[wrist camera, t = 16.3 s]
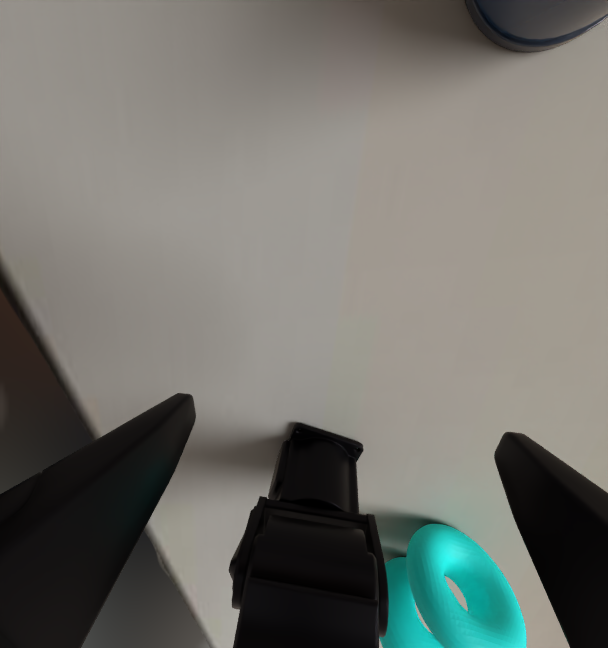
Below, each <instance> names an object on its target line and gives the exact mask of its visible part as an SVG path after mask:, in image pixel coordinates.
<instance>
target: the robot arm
mask: <svg viewBox="0 0 608 648" xmlns="http://www.w3.org/2000/svg"><path fill="white" fill-rule="evenodd" d="M195 419H196V413H195V407H194V400H193V397H192V395H190V394H183V393H178V394H175V395H174V396H172V397H170V398H168V399H167V400H165V401H163V402H161V403H160V404H158V405H156V406H154V407H153V408H151V409H149V410H147V411H146V412H144V413H142V414H140V415H139V416H137V417H135V418H133V419H132V420H130V421H128V422H126V423H125V424H123V425H121V426H120V427H118V428H116V429H114V430H113V431H111V432H109V433H107V434H106V435H104V436H102V437H100V438H99V439H97V440H95V441H93V442H92V443H90V444H88V445H86V446H85V447H83V448H81V449H79V450H78V451H76V452H74V453H72V454H71V455H69V456H67V457H65V458H64V459H62V460H60V461H58V462H57V463H55V464H53V465H51V466H50V467H48V468H46V469H44V470H43V471H42V473H37V474H36V475H34V476H32V477H30V478H29V479H27V480H25V481H23V482H22V483H20V484H18V485H16V486H14V487H13V488H11V489H9V490H7V491H5V492H4V493H2V494H0V648H81V647H82V645H83V643H84V641H85V639H86V637H87V635H88V633H89V632H90V630H91V628H92V626H93V624H94V622H95V620H96V619H97V617H98V615H99V613H100V611H101V609H102V607H103V605H104V603H105V601H106V600H107V598H108V596H109V594H110V592H111V590H112V588H113V586H114V584H115V582H116V581H117V579H118V577H119V575H120V573H121V571H122V570H123V568H124V566H125V564H126V562H127V560H128V558H129V556H130V554H131V553H132V551H133V549H134V547H135V545H136V543H137V541H138V540H139V538H140V536H141V534H142V532H143V530H144V528H145V526H146V524H147V523H148V521H149V519H150V517H151V515H152V513H153V511H154V509H155V508H156V506H157V504H158V502H159V500H160V498H161V496H162V494H163V493H164V491H165V489H166V487H167V485H168V483H169V481H170V479H171V477H172V475H173V473H174V471H175V469H176V467H177V464H178V462H179V460H180V457H181V455H182V452H183V450H184V447H185V445H186V443H187V440H188V438H189V435H190V433H191V430H192V428H193V425H194V423H195ZM299 429H301V430H299ZM362 452H363V445H362V444H361V443H359V442H356V441H353V440H350V439H347V438H344V437H341V436H338V435H335V434H332V433H329V432H326V431H323V430H320V429H316V428H313V427H310V426H307V425H304V424H301V423H298V424H296V425H295V426H294V429H293V431H292V434H291V436H290V438H289V441H288V440H285V441H284V442H283V445H282V447H281V450H280V452H279V455H278V457H277V461H276V465H275V469H274V473H273V478H272V482H271V486H270V490H269V494H268V498H269V499H267V497H262V496H260V498H259V501H258V503H257V506H255V507H254V509H253V510H251V513H250V516H249V520H248V523H247V527H246V530H245V533H244V535H243V537H242V539H241V541H240V544H239V546H238V548H237V550H236V552H235V554H234V556H233V558H232V560H231V563H230V567H229V573H230V575H231V578H232V580H233V587H232V589H233V595H232V608H235V609H240V613H239V618H238V624H237V629H236V634H235V640H234V645H233V648H379V637H384V636H385V635H386V631H387V626H388V613H389V599H388V582H387V573H386V568H385V563H384V558H383V553H382V549H381V544H380V540H379V535H378V530H377V526H376V521H375V517H374V515H372V514H366V515H363V514H359V504H358V486H357V469H356V462H357V460H358V459H359V457H360V455H361V454H362ZM494 458H495V463H496V466H497V469H498V472H499V475H500V478H501V481H502V484H503V487H504V490H505V493H506V496H507V499H508V502H509V505H510V508H511V511H512V514H513V517H514V519H515V522H516V524H517V527H518V529H519V531H520V534H521V536H522V538H523V541H524V543H525V545H526V547H527V550H528V552H529V554H530V557H531V559H532V561H533V564H534V566H535V568H536V570H537V573H538V575H539V577H540V580H541V582H542V584H543V586H544V589H545V591H546V593H547V596H548V598H549V600H550V603H551V605H552V607H553V609H554V612H555V614H556V616H557V619H558V621H559V623H560V625H561V628H562V630H563V632H564V635H565V637H566V639H567V642H568V644H569V646H570V648H608V493H607V492H605V491H604V490H603V489H601V488H600V487H598V486H597V485H596V484H594V483H593V482H591V481H590V480H588V479H587V478H586V477H584V476H583V475H581V474H580V473H578V472H577V471H576V470H574V469H573V468H571V467H570V466H569V465H567V464H566V463H564V462H563V461H561V460H560V459H559V458H557V457H556V456H554V455H553V454H551V453H550V452H549V451H547V450H546V449H544V448H543V447H542V446H540V445H539V444H537V443H536V442H534V441H533V440H532V439H530V438H529V437H527V436H526V435H524V434H521V433H514V432H506V433H505V434H504V435H503V436H502V438H501V440H500V443H499V445H498V447H497V449H496V451H495V455H494Z"/></svg>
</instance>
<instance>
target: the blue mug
mask: <svg viewBox="0 0 608 648" xmlns="http://www.w3.org/2000/svg"><path fill="white" fill-rule="evenodd" d="M465 2H466V5H467V8H468V10H469V12H470V14H471V17H472V19H473V20H474V22H475V23H476V25H477V26H478V28H479V29H480V30H481V31H482V32H483V33H484V34H485V36H486V37H488V38H489V39H490V40H492V41H493V42H494V43H496V44H498V45H500V46H502V47H504V48H507V49H511V50H514V51H521V52H535V51H543V50H547V49H552V48H555V47H558V46H560V45H563V44H566V43H568V42H570V41H572V40H574V39H576V38H577V37H579V36H581V35H582V34H584V33H586V32H587V31H589V30H590V29H592V28H593V27H595V26H596V25H598V24H599V23H601V22H602V21H603V20H605V19H606V18H607V17H608V0H465Z"/></svg>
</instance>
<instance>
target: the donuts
mask: <svg viewBox="0 0 608 648" xmlns="http://www.w3.org/2000/svg"><path fill="white" fill-rule="evenodd" d="M385 568H386V573H387V582H388V599H389V613H388V626H387V631H386V635H385V636H384V637H379V638H380V641H381V644H382V646H383V648H526V629H525V624H524V619H523V616H522V613H521V610H520V607H519V604H518V602H517V599H516V597H515V595H514V593H513V591H512V588H511V587H510V585H509V583H508V581H507V580H506V578H505V576H504V575H503V573H502V572H501V570H500V569H499V568H498V566H497V565H496V564H495V562H494V561H493V560H492V559H491V557H490V556H489V555H488V554H487V553H486V552H485V551H484V550H483V549H482V548H481V547H480V546H479V545H478V544H477V543H476V542H474V541H473V540H472V539H471V538H469V537H468V536H466V535H465V534H464V533H462V532H460V531H458V530H457V529H455V528H452V527H450V526H447V525H443V524H428V525H425V526H423V527H421V528H420V529H418V530H417V531H416V532H415V533H414V535H413V536H412V538H411V540H410V542H409V545H408V549H407V556H406V557H397V558H393V559H391V560H389V561H387V562H386V563H385ZM444 575H445V576H447V577H449V578H450V579H451V580H452V581H453V582H454V583H455V584H456V585H457V586H458V587H459V589H460V590H461V592H462V593H463V595H464V597H465V600H466V603H467V607H468V612H467V611H466V610H465V609H464V608H463V607H462V606H461V605H460V604H459V602H458V601H457V599H456V597H455V596H454V594H453V593H452V591H451V590H450V588H449V587H448V585H447V582H446V579H445V576H444ZM415 603H416V605H417V607H418V609H419V612H420V614H421V615H422V617H423V619H424V621H425V623H426V624H427V626H428V627H429V629H430V630H431V632H432V633H433V634H432V633H430V632H429V631H428V630H427V629H426V628H425V627H424V625H423V624H422V622H421V621H420V619H419V617H418V614H417V612H416V608H415Z"/></svg>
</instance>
